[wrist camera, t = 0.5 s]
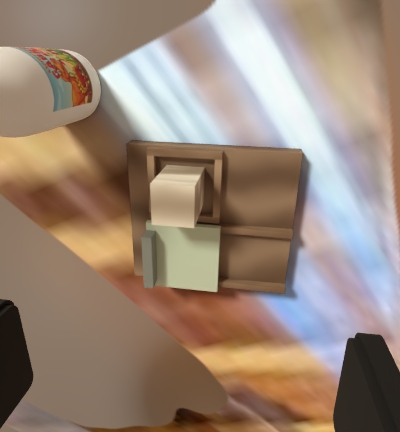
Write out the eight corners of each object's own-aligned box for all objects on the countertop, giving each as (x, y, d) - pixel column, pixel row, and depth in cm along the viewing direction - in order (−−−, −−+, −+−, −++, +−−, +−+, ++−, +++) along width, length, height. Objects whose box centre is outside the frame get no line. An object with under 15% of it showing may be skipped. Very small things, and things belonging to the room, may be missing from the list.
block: (166, 165, 41) (150, 183, 35) (204, 167, 41) (194, 186, 34) (167, 200, 43) (151, 224, 37) (203, 203, 43) (194, 228, 36)
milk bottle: (101, 125, 43) (-14, 171, 25) (41, 113, 43) (-115, 150, 25) (104, 56, 40) (-26, 50, 21) (39, 44, 40) (-141, 29, 22)
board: (132, 140, 43) (123, 145, 40) (300, 148, 40) (303, 155, 38) (139, 267, 50) (132, 279, 47) (283, 281, 48) (284, 294, 45)
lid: (147, 219, 43) (140, 229, 41) (220, 225, 42) (218, 236, 40) (150, 281, 47) (144, 294, 44) (217, 288, 46) (215, 301, 43)
